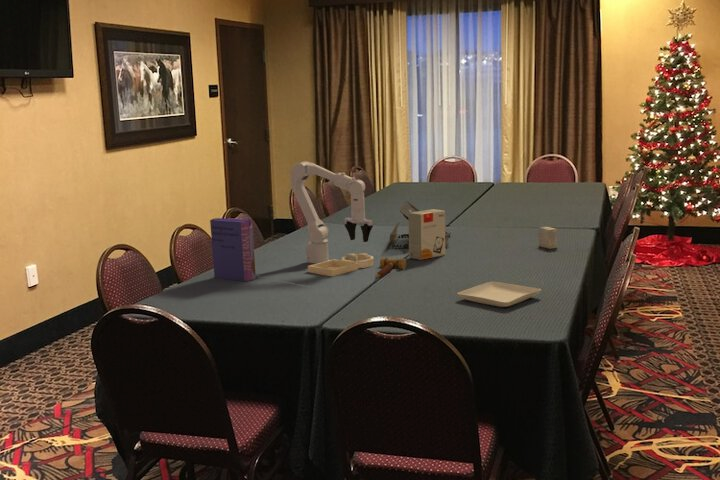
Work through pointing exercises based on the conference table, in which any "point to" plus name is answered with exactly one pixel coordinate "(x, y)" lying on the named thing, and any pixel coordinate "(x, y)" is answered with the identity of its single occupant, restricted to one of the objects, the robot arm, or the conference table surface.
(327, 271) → the tray
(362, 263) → the bowl
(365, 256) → the stone
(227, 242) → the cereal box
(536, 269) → the conference table surface
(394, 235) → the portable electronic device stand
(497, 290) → the salad plate
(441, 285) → the conference table surface
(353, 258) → the stone
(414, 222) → the hard drive box
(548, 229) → the medicine box
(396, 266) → the gavel
